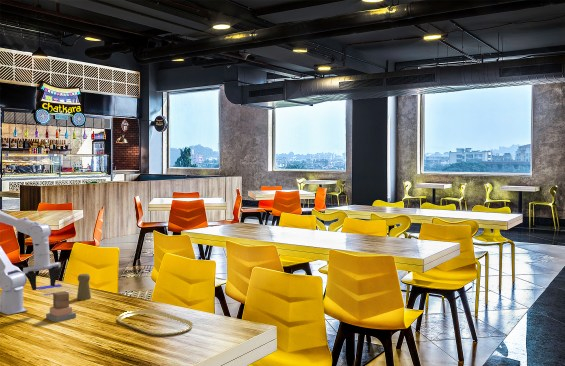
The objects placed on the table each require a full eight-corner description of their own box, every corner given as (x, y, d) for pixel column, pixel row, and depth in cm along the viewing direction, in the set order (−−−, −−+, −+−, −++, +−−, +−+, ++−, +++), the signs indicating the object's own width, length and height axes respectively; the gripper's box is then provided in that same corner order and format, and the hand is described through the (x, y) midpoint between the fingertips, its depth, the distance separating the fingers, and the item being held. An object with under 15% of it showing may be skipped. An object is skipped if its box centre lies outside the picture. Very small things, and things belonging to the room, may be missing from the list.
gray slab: (46, 319, 210) (46, 313, 210) (65, 315, 216) (65, 309, 216) (56, 323, 205) (56, 317, 205) (75, 319, 211) (75, 313, 211)
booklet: (49, 299, 240) (49, 297, 240) (33, 289, 259) (33, 287, 259) (77, 295, 248) (77, 293, 248) (59, 285, 267) (59, 284, 267)
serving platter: (149, 311, 223) (149, 307, 223) (203, 329, 200) (203, 325, 200) (107, 320, 209) (107, 316, 209) (160, 341, 186) (160, 336, 186)
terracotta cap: (49, 313, 210) (49, 307, 210) (64, 310, 215) (64, 304, 214) (57, 316, 206) (57, 310, 206) (71, 313, 211) (71, 307, 211)
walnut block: (53, 306, 211) (53, 292, 210) (64, 304, 214) (64, 291, 213) (57, 309, 207) (57, 295, 207) (68, 307, 210) (68, 293, 210)
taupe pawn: (86, 300, 237) (86, 275, 237) (73, 299, 238) (73, 275, 238) (93, 297, 243) (93, 273, 243) (81, 296, 244) (81, 272, 244)
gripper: (28, 257, 207) (30, 292, 208) (63, 252, 219) (65, 285, 219) (19, 256, 212) (21, 290, 212) (55, 251, 223) (57, 283, 223)
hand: (43, 287), depth 216 cm, fingers open, 7 cm apart
